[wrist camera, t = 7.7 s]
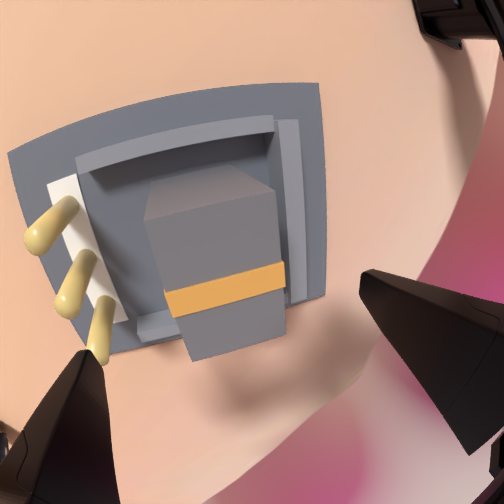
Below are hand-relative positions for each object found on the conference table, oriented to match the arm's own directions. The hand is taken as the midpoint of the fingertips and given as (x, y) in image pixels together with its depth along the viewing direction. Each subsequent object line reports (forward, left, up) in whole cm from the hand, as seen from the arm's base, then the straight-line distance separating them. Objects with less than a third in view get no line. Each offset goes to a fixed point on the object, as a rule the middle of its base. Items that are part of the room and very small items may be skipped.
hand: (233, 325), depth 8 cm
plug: (0, 0, -8) cm, 8 cm away
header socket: (0, 0, -9) cm, 9 cm away
